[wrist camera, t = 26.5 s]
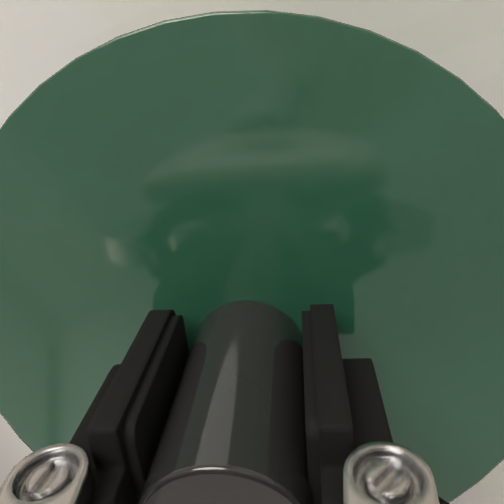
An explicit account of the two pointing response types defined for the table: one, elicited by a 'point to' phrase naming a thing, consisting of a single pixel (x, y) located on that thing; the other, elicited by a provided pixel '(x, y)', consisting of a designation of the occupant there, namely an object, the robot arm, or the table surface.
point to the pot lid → (256, 244)
